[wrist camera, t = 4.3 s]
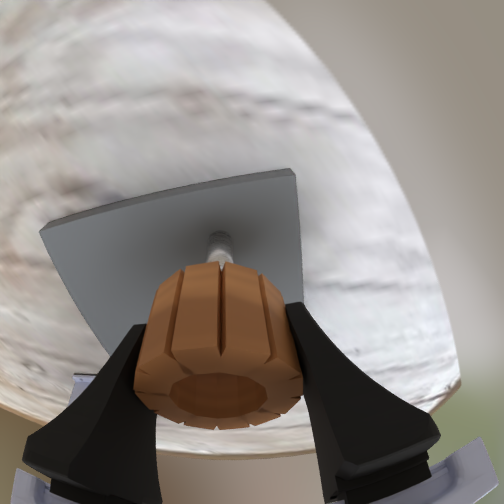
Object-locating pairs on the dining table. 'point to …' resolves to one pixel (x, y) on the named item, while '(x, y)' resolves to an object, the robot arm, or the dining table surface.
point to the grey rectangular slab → (174, 245)
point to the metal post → (220, 248)
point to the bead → (218, 350)
